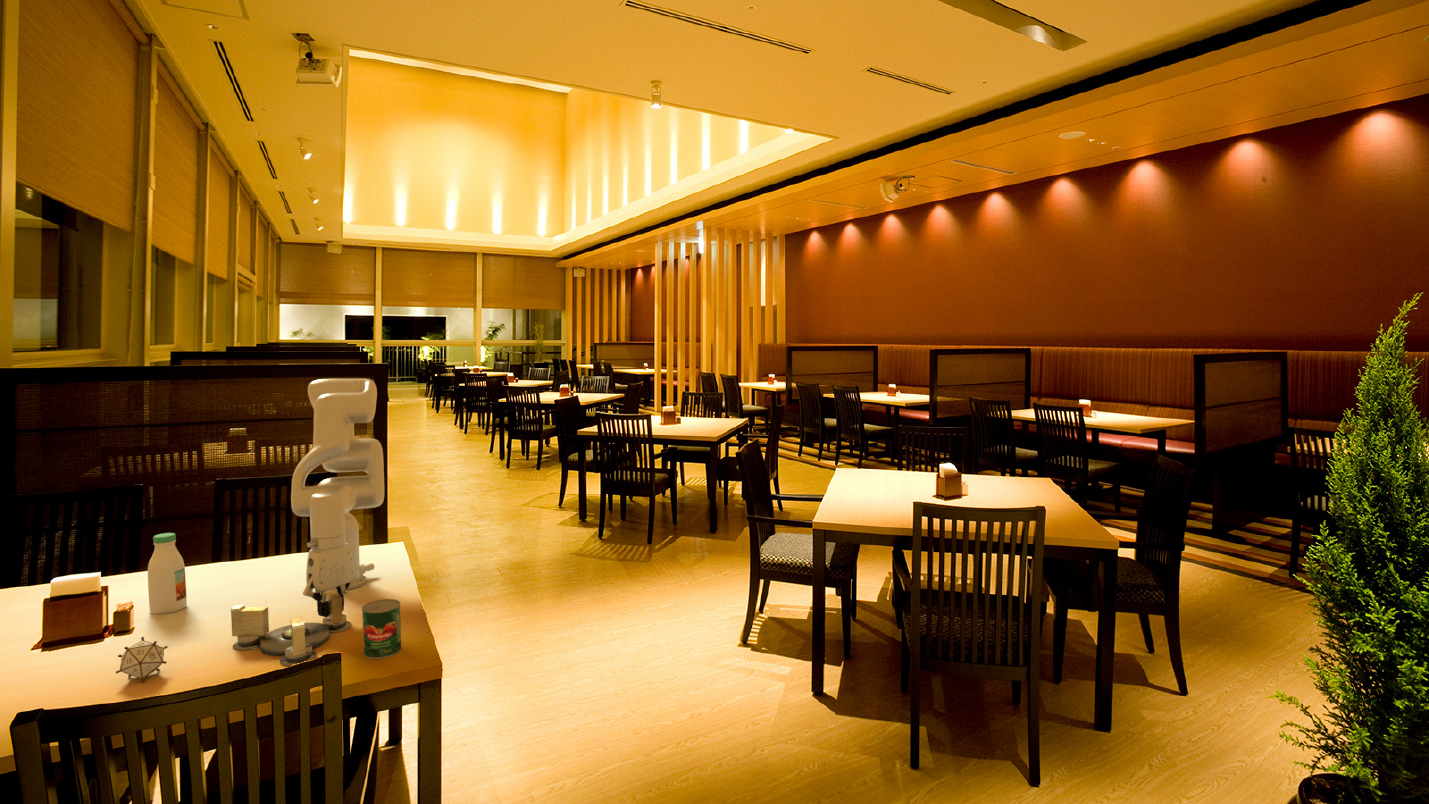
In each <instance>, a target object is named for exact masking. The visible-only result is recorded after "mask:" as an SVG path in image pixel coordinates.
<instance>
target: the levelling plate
mask: <svg viewBox="0 0 1429 804" xmlns="http://www.w3.org/2000/svg"><path fill="white" fill-rule="evenodd" d="M304 626H305V627H304V629H305V644H310V645H312V656H311V657H309V658H307V659H305V660H302V661H296V662H288V661H286V660H285V650H286V649H287V648H289V647H291V646H292V639H291V624H288V625H285V626H281V627H278V628H276V629H273V630H271V631H269V632H268V633H267V634H265V635H264V636H263V637H262V638H261V639H260V643H258V644H255V645H251V646H239V645H238V641H236V642H235V643H233V644H232V649H233V650H235V651H249V650H254V649H258V648H259V651H260V652H261V653H262V654H263V655H267V656H270V657H282V658H281V659H280V661H279V664H280V665H281V666H284V667H292V666H291V665H293V664H297V663H301V662H304V661H309V660H312V659H314V660H316V659H317V658H318V653H317V652H316V651H313V650H315V649H317V648H320V647H322V646H324V645H325V644H326V643H328V642H329V641H330V634H335V633H341V632H344V631H346V630H348V629H350V628H351V626H352V623H351V621H348V620H347V624H346V625H345V626H343V627H341V628H337V629H329V627H328V626H327V625H325V624H323V622H322V623H321V622H304ZM315 658H316V659H315Z"/></svg>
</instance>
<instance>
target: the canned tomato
mask: <svg viewBox="0 0 1429 804" xmlns="http://www.w3.org/2000/svg"><path fill="white" fill-rule="evenodd" d="M361 610H362V614H361V617H362V633H363V634H362V637H363V639H362V640H363V642H362V643H363V656H364V657H365V658H367V659H370V660H381V659H387V658H390V657H393V656H395V655H397V654H398V653H400V652H401V651H402V649H403V648H402V627H401V626H402V625H401V624H402V623H401V622H402V620H401V602H400V601H399V600H397V599H392V598H384V599H383V598H382V599H376V600H373V601H370V602H367V603H365V604H363V606H362V607H361Z"/></svg>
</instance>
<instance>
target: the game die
mask: <svg viewBox="0 0 1429 804" xmlns="http://www.w3.org/2000/svg"><path fill="white" fill-rule="evenodd" d="M140 639H141V640H140V641H139V642H137V643H135V644H133V645H131V646H130V647H129V646H124V650H125V651H124V653H123V654H118V655H117V657H118V658H120V665H119V669H118V670H116V671H115V674H119V673H124V674H125V675H126V674H127V675H128V676H127V677H128V679H129V678H131V677H134V678H137V679H140V683H143V682H144V681H145V680H144V679H145V678H146V677H147V676H149V675H151V674H152V673H153V672H161V671H160V670H161V669H160V666H161V665H162V664H164V665H166V664H167V663H168V662H167V660H166V661H165V660H164V656H165V655H164V653H165V650H166V649H168V647H169V646H168V645H165V646H164V647H162V646H160V645H158V644H157V643H158V642H157V640H156V641H153V643H152V642H149V641H147V640H145V637H144V636H141V638H140Z"/></svg>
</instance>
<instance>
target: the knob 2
mask: <svg viewBox="0 0 1429 804" xmlns="http://www.w3.org/2000/svg"><path fill="white" fill-rule="evenodd" d="M304 623H305V621H304V619H303V616H297V617H291V618H290V625H291V639H292V646H291V647H289V648H287V649H286V650H285V656H284V657H285V660H286V661H288V662H296V661H302V660H305V659H307V658H309V657H311V656H312V651H313V650H312V645H310V644H305V629H304V627H305V626H304Z"/></svg>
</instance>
